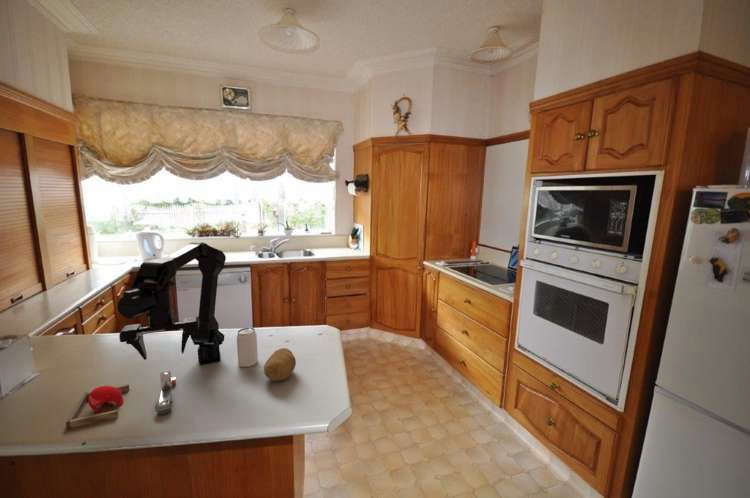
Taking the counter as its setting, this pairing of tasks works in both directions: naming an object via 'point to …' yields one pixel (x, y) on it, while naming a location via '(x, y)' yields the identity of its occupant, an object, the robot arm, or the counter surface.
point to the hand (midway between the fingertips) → (164, 356)
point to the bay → (76, 422)
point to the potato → (280, 365)
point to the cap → (104, 396)
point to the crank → (165, 392)
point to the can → (247, 347)
